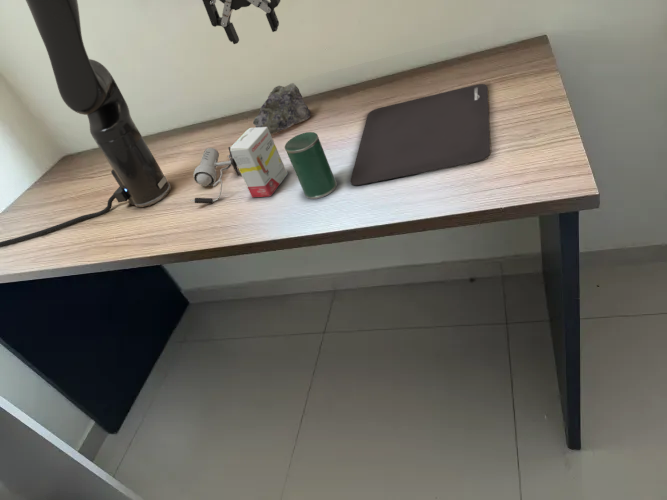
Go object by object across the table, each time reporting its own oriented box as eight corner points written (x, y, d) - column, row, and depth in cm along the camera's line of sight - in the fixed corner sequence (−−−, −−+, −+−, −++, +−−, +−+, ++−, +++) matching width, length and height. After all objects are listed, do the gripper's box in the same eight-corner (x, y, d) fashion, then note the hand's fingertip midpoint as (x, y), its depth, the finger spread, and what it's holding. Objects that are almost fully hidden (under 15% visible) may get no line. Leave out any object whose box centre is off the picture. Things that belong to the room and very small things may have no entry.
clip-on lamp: (240, 210, 137) (253, 152, 148) (228, 189, 132) (243, 131, 144) (190, 216, 140) (207, 159, 151) (177, 196, 135) (195, 139, 147)
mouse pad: (490, 159, 114) (490, 158, 114) (348, 187, 123) (348, 186, 123) (487, 82, 138) (487, 81, 138) (368, 111, 147) (368, 110, 147)
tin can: (300, 201, 126) (279, 153, 119) (310, 181, 130) (291, 135, 124) (331, 197, 123) (311, 148, 117) (340, 177, 128) (322, 129, 121)
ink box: (270, 197, 131) (247, 148, 124) (251, 198, 133) (227, 149, 127) (289, 173, 136) (268, 125, 130) (270, 174, 139) (248, 127, 132)
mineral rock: (258, 142, 154) (241, 105, 149) (266, 122, 163) (250, 86, 157) (308, 129, 151) (292, 90, 145) (313, 108, 159) (299, 71, 153)
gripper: (260, -65, 119) (292, 19, 128) (193, -41, 123) (228, 39, 132) (251, -54, 113) (285, 33, 122) (181, -30, 117) (219, 53, 127)
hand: (255, 36), depth 127 cm, fingers open, 8 cm apart
